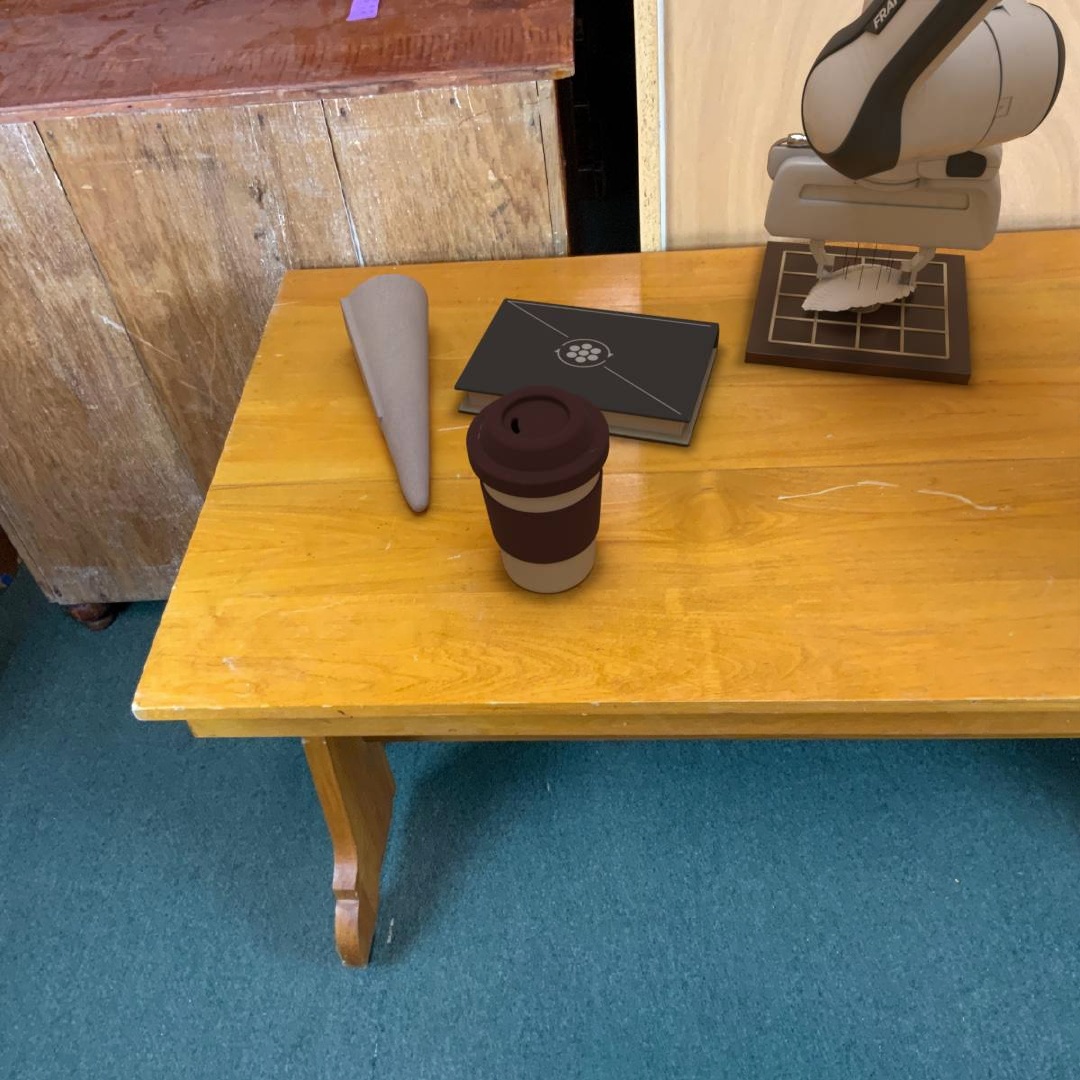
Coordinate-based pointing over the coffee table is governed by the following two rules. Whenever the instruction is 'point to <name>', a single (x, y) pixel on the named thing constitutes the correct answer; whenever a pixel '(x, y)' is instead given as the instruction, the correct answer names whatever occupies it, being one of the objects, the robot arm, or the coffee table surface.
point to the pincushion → (857, 288)
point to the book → (598, 364)
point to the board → (863, 318)
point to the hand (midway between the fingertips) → (864, 279)
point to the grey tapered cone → (396, 371)
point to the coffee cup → (541, 482)
